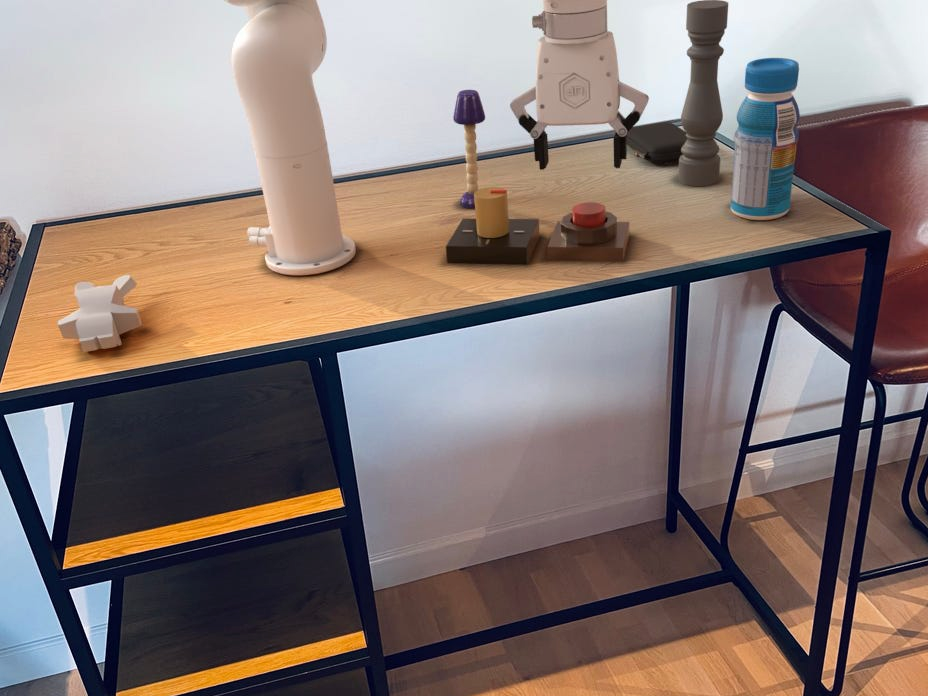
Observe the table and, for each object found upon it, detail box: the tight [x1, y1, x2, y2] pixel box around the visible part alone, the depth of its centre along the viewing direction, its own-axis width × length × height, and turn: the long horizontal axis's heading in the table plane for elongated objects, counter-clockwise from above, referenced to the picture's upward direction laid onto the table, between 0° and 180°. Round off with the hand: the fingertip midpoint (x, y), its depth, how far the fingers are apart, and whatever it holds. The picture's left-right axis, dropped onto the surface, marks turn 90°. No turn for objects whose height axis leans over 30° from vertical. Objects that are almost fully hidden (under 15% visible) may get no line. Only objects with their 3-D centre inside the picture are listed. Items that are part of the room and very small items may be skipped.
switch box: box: [546, 210, 630, 263], centre depth 133 cm, size 10×9×4 cm
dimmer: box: [445, 217, 541, 266], centre depth 136 cm, size 11×10×3 cm
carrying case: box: [627, 121, 688, 166], centre depth 164 cm, size 11×3×15 cm
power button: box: [571, 201, 606, 227], centre depth 132 cm, size 4×4×2 cm
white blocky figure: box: [57, 274, 142, 353], centre depth 124 cm, size 10×5×15 cm
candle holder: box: [677, 0, 729, 187], centre depth 145 cm, size 6×6×25 cm
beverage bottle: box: [729, 57, 801, 221], centre depth 135 cm, size 8×8×20 cm
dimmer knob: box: [474, 186, 510, 238], centre depth 133 cm, size 4×4×6 cm
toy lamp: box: [453, 89, 486, 209], centre depth 146 cm, size 5×5×17 cm
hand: (580, 165), depth 128 cm, fingers open, 9 cm apart
